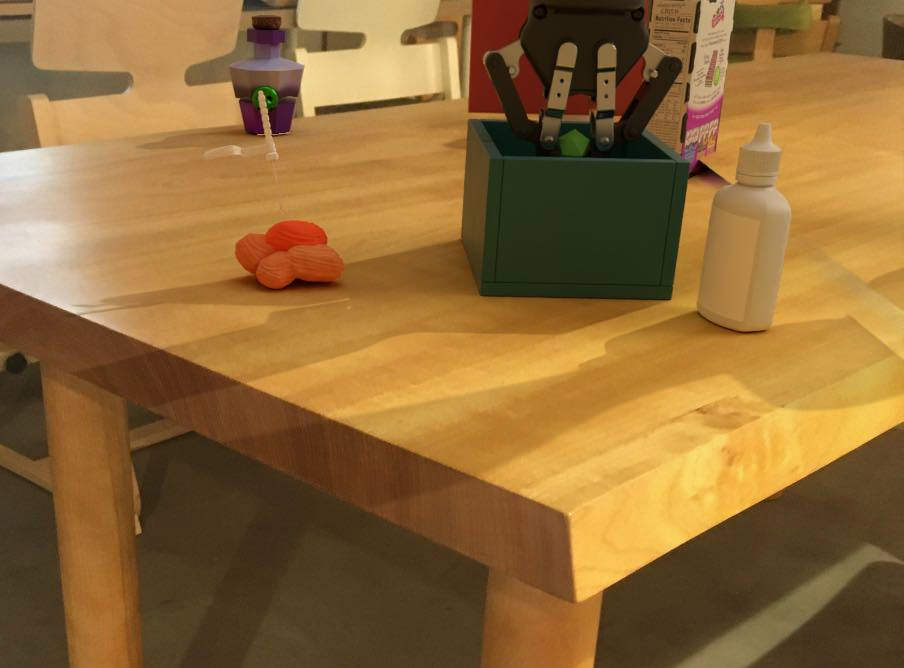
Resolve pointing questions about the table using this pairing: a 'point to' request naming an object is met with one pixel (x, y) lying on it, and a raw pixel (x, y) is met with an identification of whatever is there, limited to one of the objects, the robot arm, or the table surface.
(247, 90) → the potion bottle
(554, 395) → the table surface
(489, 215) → the open storage box
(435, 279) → the table surface
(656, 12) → the candy bar box
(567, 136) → the game piece
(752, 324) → the eye dropper bottle
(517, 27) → the lid
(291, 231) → the peanut cluster ornament
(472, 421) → the table surface
